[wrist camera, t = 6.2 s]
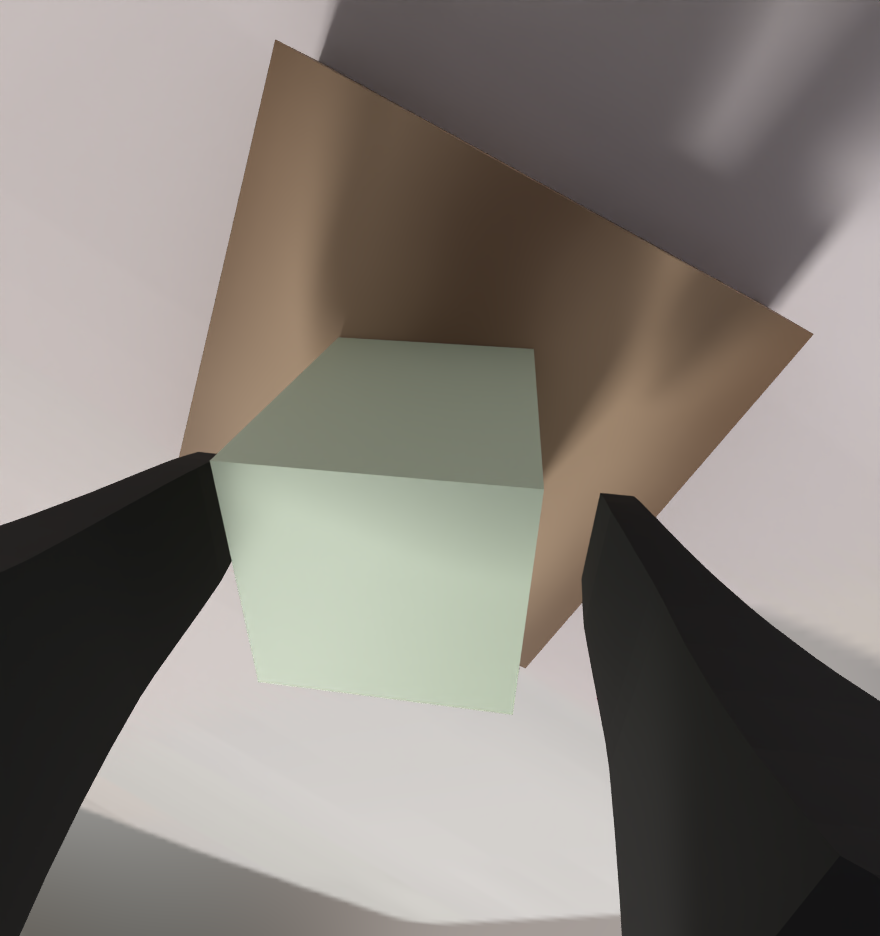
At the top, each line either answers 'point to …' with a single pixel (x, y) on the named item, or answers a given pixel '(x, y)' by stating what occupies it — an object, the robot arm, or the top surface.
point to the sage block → (390, 522)
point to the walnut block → (476, 304)
